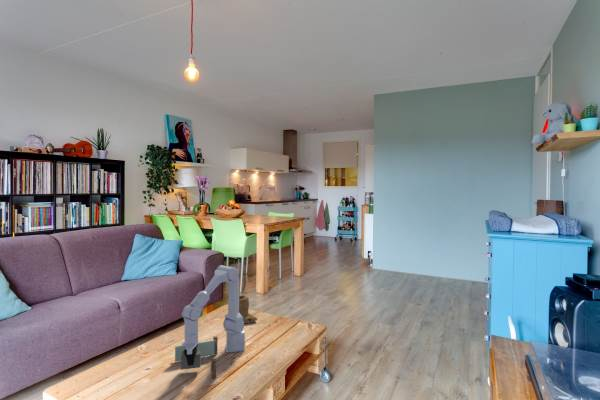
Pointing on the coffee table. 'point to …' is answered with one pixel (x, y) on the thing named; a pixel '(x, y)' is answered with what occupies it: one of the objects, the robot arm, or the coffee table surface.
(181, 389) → the coffee table surface
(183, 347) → the door
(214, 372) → the door frame
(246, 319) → the brown boot
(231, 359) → the coffee table surface
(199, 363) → the block
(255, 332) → the coffee table surface
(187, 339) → the robot arm
